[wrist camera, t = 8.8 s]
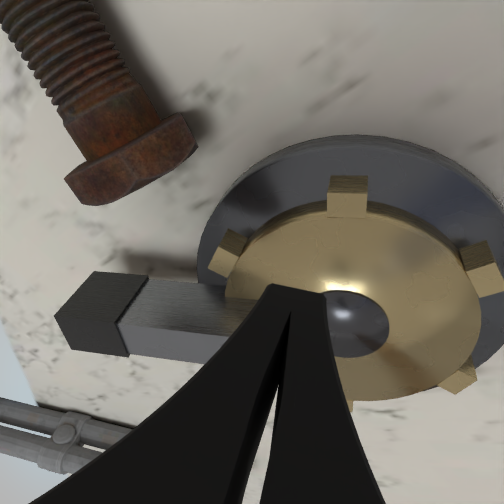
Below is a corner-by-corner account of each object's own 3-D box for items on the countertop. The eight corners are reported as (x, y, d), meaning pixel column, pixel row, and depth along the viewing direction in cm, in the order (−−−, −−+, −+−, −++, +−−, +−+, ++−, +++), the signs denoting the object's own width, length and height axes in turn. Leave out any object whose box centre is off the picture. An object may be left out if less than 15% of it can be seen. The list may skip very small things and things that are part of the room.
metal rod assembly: (250, 448, 33) (233, 514, 29) (250, 465, 35) (234, 529, 31) (-13, 384, 38) (-57, 433, 34) (-2, 401, 40) (-43, 450, 36)
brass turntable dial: (526, 177, 14) (569, 240, 11) (456, 403, 21) (469, 479, 18) (63, 173, 19) (1, 216, 16) (137, 358, 26) (104, 412, 23)
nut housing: (592, 166, 15) (612, 186, 14) (447, 400, 24) (451, 425, 23) (205, 110, 17) (191, 122, 16) (207, 342, 26) (198, 362, 25)
